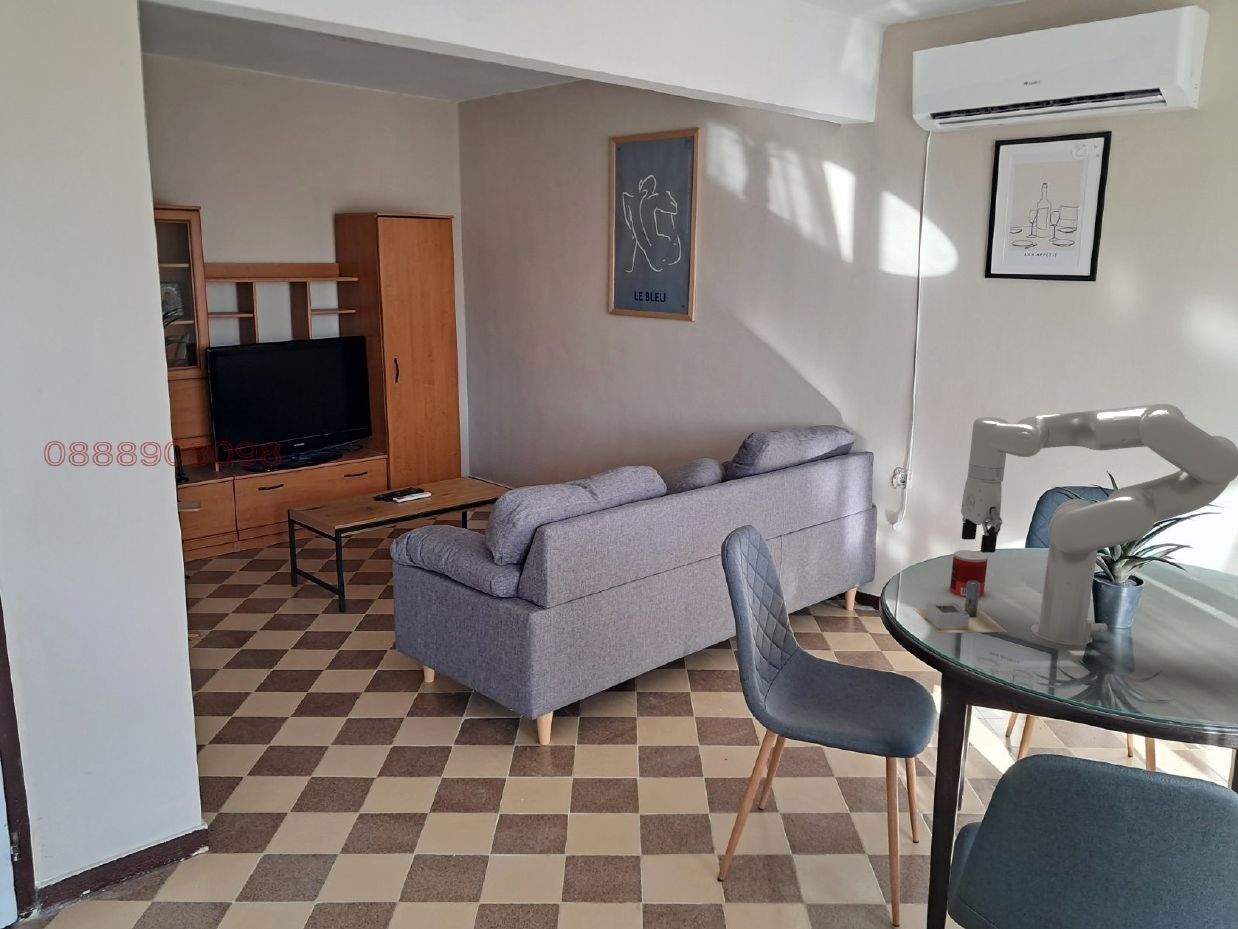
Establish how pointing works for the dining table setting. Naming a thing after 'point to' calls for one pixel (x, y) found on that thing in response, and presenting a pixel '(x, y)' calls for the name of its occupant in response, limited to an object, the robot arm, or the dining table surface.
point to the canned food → (968, 571)
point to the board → (971, 623)
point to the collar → (947, 616)
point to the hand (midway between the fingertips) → (977, 545)
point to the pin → (972, 598)
